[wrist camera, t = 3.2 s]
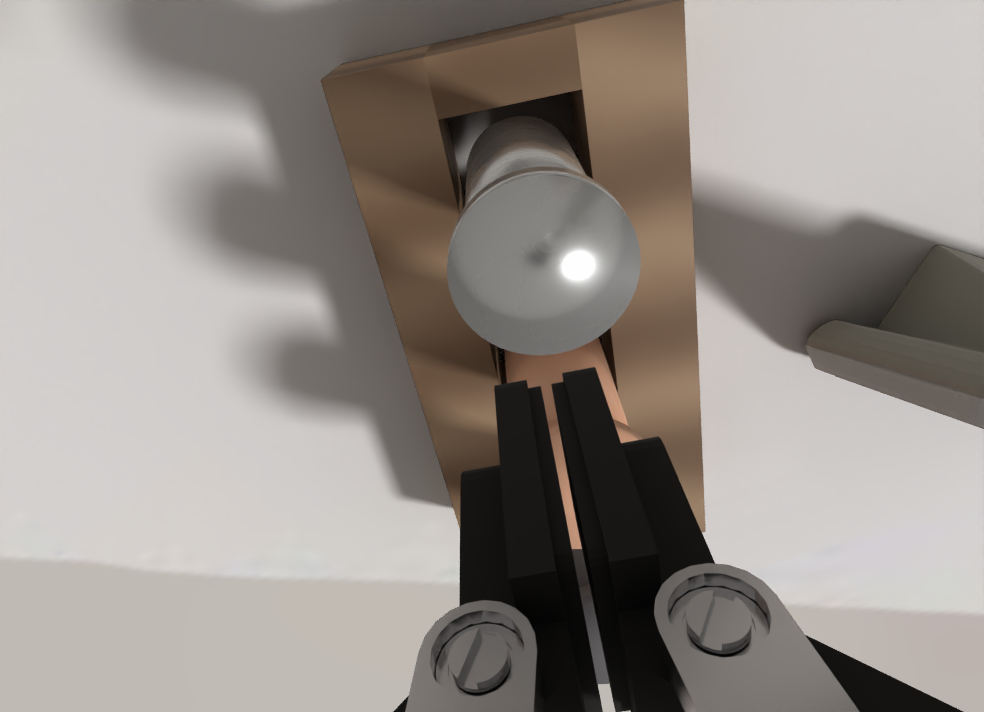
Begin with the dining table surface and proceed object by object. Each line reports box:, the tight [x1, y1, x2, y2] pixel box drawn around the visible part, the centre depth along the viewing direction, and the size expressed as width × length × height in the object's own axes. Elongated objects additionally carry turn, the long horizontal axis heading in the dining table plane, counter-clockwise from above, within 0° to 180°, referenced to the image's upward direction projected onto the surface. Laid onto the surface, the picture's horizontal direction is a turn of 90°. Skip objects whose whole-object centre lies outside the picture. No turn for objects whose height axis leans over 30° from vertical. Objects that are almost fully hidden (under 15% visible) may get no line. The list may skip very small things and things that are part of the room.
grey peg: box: [447, 116, 641, 355], centre depth 20 cm, size 5×5×9 cm
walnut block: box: [321, 0, 705, 532], centre depth 29 cm, size 24×12×4 cm, turn 11°
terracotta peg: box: [504, 337, 643, 549], centre depth 24 cm, size 5×5×9 cm
